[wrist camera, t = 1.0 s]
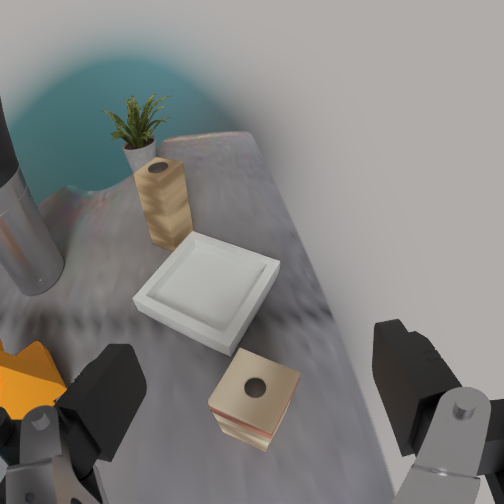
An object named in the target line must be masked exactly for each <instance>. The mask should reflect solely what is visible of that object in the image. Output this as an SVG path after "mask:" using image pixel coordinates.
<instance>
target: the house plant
mask: <svg viewBox="0 0 504 504" xmlns="http://www.w3.org/2000/svg"><path fill="white" fill-rule="evenodd" d="M155 95H156V94H154V95H153V96H152V97H150V99H149V100H148V101H147V103H146V105H145V107H144V109H143V112H142V115H141V118H139V110H140V109H141V108H142V107H141V108H140V109H138V104H137V102H136V100H135V98H134V97H133V96H132V100H133V104H134V105H133V104H132V102H131V100H130V99H129V100H128V102H127V100H125V101H126V103H127V104H128V106H127V107H128V120H127V123H128V125H129V128H130V129H129V128H128V127H127V126H126V125H125V124H124V122H123V121H122V120H121V119H120V118H119V117H118V116H117V115H115V114H113V113H111V112H108V111H104V112H106V113H107V114H109V115H110V116H112V117H113V118H114V119H115V120H116V121H117V122H116V121H114V120H113V119H110V120H113V121H114V122H116V123H117V124H119V125H120V126H122V127H123V128H124V129H125V130H126V132H127V133H128V134H129V135H130V136H131V137H132V139H131V138H130V136H129V135H127V134H126V133H125V132H124V131H123V130H122V129H121V128H120V127H119V126H118V125H117V124H115V125H116V126H117V129H118V130H119V132H113V133H111V135H115V136H114V137H113V139H116V138H119V137H121V138H123V139H124V140H125V141H126V142H125V143H124V144H123V146H122V148H123V150H124V153H125V155H126V157H127V160H128V162H129V164H130V167H131V169H132V171H133V173H135V172H136V171H138V170H139V169H140V168H142V167H143V166H145V165H146V164H147V163H149V162H150V161H152V160H153V159H154V158H156V138H155V137H154V136H151V133H152V131H153V130H154V129H155V128H156V126H157V125H158V124H159V123H160V122H161V121H163V120H164V119H166V118H164V119H162V120H155V121H153V122H151V123H150V124H149V122H148V121H150V120H151V118H152V116H153V115H154V113H155V112H156V111H157V110H158V109H160V108H162V107H164V106H162V107H159V108H158V109H156V110H155V111H154V113H153V114H152V116H151V118H150V120H149V119H147V117H148V115H149V113H150V112H151V110H152V108H153V107H154V106H155V105H156V104H157V103H158V102H159V101H161V100H162V99H165V98H168V97H164V98H161V99H159V100H158V101H156V102H155V103H154V104H153V105H152V107H151V108H150V109H149V107H150V105H151V103H152V101H153V100H152V99H153V97H154V96H155ZM148 111H149V112H148ZM147 112H148V113H147ZM167 118H168V117H167ZM156 122H158V123H157V124H156V126H155V127H154V129H153V130H152V129H151V130H148V129H149V128H150V126H151V125H152V124H154V123H156ZM147 123H148V124H149V125H148V124H147ZM146 125H147V126H146ZM145 128H146V129H145ZM147 130H148V131H147ZM146 134H147V135H146ZM113 139H112V140H113Z"/></svg>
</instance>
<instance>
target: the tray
mask: <svg viewBox="0 0 504 504" xmlns="http://www.w3.org/2000/svg"><path fill="white" fill-rule="evenodd" d="M279 270H280V261H278V260H275V259H272V258H269V257H266V256H264V255H261V254H258V253H255V252H252V251H249V250H246V249H243V248H240V247H238V246H235V245H232V244H229V243H226V242H223V241H220V240H217V239H214V238H211V237H209V236H206V235H203V234H200V233H197V232H194V231H192V232H191V233H190V234H189V235H188V236H187V237H186V238H185V239H184V241H183V242H182V243H181V244H180V245H179V246H178V247H177V248H176V249H175V250H174V252H173V253H172V254H171V255H170V256H169V257H168V258H167V259H166V260H165V262H164V263H163V264H162V265H161V266H160V267H159V268H158V270H157V271H156V272H155V273H154V274H153V275H152V276H151V278H150V279H149V280H148V281H147V282H146V283H145V284H144V286H143V287H142V288H141V289H140V290H139V291H138V293H137V294H136V295H135V296H134V297H133V298H132V299H133V301H134V303H135V305H136V307H137V309H138V310H139V311H141V312H142V313H144V314H146V315H148V316H150V317H152V318H153V319H155V320H157V321H159V322H161V323H163V324H165V325H166V326H168V327H170V328H172V329H174V330H176V331H178V332H180V333H182V334H184V335H186V336H188V337H190V338H192V339H194V340H196V341H198V342H200V343H202V344H204V345H206V346H208V347H210V348H212V349H214V350H216V351H219V352H221V353H223V354H225V355H227V356H229V357H231V356H232V354H233V353H234V351H235V349H236V347H237V346H238V344H239V342H240V341H241V339H242V337H243V336H244V334H245V332H246V331H247V329H248V327H249V325H250V324H251V322H252V320H253V319H254V317H255V315H256V313H257V312H258V310H259V308H260V307H261V305H262V303H263V301H264V300H265V298H266V296H267V294H268V293H269V291H270V289H271V287H272V286H273V284H274V282H275V280H276V279H277V277H278V275H279Z"/></svg>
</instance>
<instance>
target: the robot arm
mask: <svg viewBox="0 0 504 504" xmlns="http://www.w3.org/2000/svg"><path fill="white" fill-rule="evenodd" d="M0 262H1V264H2V265H3V267H4V268H5V270H6V271H7V272H8V274H9V275H10V277H11V278H12V280H13V281H14V282H15V284H16V285H17V287H18V288H19V289H20V291H21V292H22V293H24V294H26V295H30V296H31V295H37V294H40V293H42V292H44V291H46V290H47V289H49V288H50V287H51V286H52V285H53V284H54V283H55V282H56V281H57V280H58V278H59V277H60V275H61V273H62V270H63V267H64V260H63V257H62V255H61V253H60V251H59V250H58V248H57V246H56V244H55V242H54V240H53V238H52V236H51V234H50V232H49V230H48V228H47V226H46V224H45V222H44V220H43V218H42V216H41V214H40V212H39V210H38V208H37V206H36V204H35V201H34V199H33V197H32V195H31V192H30V190H29V188H28V186H27V183H26V181H25V178H24V176H23V173H22V171H21V168H20V166H19V163H18V160H17V158H16V155H15V152H14V148H13V145H12V141H11V138H10V135H9V132H8V128H7V125H6V121H5V117H4V113H3V108H2V103H1V99H0ZM372 371H373V377H374V380H375V384H376V386H377V388H378V391H379V394H380V396H381V399H382V402H383V404H384V407H385V410H386V412H387V415H388V418H389V421H390V423H391V426H392V429H393V432H394V435H395V437H396V440H397V443H398V446H399V449H400V452H401V455H402V457H403V456H407V455H410V454H415V456H416V460H415V462H414V464H413V465H412V466H411V468H410V470H409V472H408V474H407V476H406V478H405V480H404V482H403V483H402V485H401V487H400V489H399V491H398V493H397V494H396V496H395V498H394V500H393V501H392V503H391V504H474V503H475V499H476V497H477V494H478V490H479V487H480V478H477V477H476V476H479V475H485V477H486V479H487V482H488V485H489V487H490V490H491V493H492V496H493V498H494V501H495V504H504V399H500V400H489V399H488V398H487V396H486V395H485V394H484V393H482V392H481V391H479V390H477V389H474V388H470V387H462V385H461V384H460V382H459V381H458V379H457V378H456V377H455V375H454V374H453V372H452V371H451V369H450V368H449V367H448V365H447V364H446V362H445V361H444V360H443V358H441V356H440V354H439V353H438V351H437V350H435V347H434V346H433V345H432V343H431V342H430V341H429V340H428V338H426V337H425V336H423V335H421V334H419V333H418V332H416V331H414V332H408V331H407V329H406V328H405V327H404V325H403V324H402V322H401V321H400V320H399V319H395V320H389V321H384V322H378V323H376V324H375V327H374V341H373V359H372ZM146 390H147V385H146V379H145V377H144V374H143V372H142V369H141V367H140V364H139V362H138V359H137V357H136V354H135V351H134V349H133V347H132V346H131V345H130V344H109V345H108V346H107V347H106V348H105V349H104V350H103V351H102V353H101V354H100V355H99V356H98V357H97V358H96V359H95V360H93V361H92V362H90V363H89V364H88V365H87V366H86V367H85V368H84V369H83V370H82V372H81V373H80V375H78V376H77V378H76V379H75V380H74V382H73V383H72V384H71V385H70V386H69V387H68V389H67V390H66V391H65V392H64V394H63V395H62V396H61V397H60V398H59V400H58V401H57V402H56V403H55V405H54V406H49V405H42V406H38V407H36V408H34V409H32V410H30V411H29V412H28V413H27V414H26V415H25V416H24V418H23V419H11V417H10V416H9V414H8V413H7V411H6V410H5V408H3V407H0V456H1V458H2V459H3V460H4V461H5V462H6V463H7V465H8V467H7V469H6V475H5V477H4V478H3V480H2V481H1V483H0V504H109V502H108V499H107V496H106V493H105V490H104V487H103V484H102V480H101V477H100V474H99V470H98V468H97V466H96V465H95V464H94V463H95V462H96V460H97V459H100V460H104V461H108V462H111V461H112V459H113V457H114V455H115V453H116V451H117V449H118V447H119V445H120V443H121V441H122V439H123V437H124V436H125V434H126V432H127V430H128V428H129V426H130V424H131V422H132V420H133V418H134V416H135V414H136V412H137V410H138V408H139V407H140V405H141V403H142V401H143V399H144V397H145V395H146Z"/></svg>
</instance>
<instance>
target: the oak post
mask: <svg viewBox="0 0 504 504" xmlns="http://www.w3.org/2000/svg"><path fill="white" fill-rule="evenodd" d="M134 178H135V182H136V186H137V189H138V193H139V197H140V201H141V204H142V208H143V212H144V215H145V219H146V222H147V226H148V229H149V232H150V236H151V239H152V242H153V244H155V245H158V246H160V247H163V248H165V249H168V250H170V251H173V252H174V250H175V249H176V248H177V247H178V246H179V245H180V244H181V243H182V242H183V241H184V239H185V238H186V237H187V236H188V235H189V234H190V233H191V232H192V231H194V229H193V224H192V218H191V212H190V206H189V200H188V193H187V187H186V180H185V174H184V167H183V162H179V161H174V160H169V159H164V158H159V157H156V158H154V159H153V160H152V161H150V162H149V163H147V164H146V165H145V166H143V167H142V168H140V169H139V170H138V171H136V172H135V173H134Z"/></svg>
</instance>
